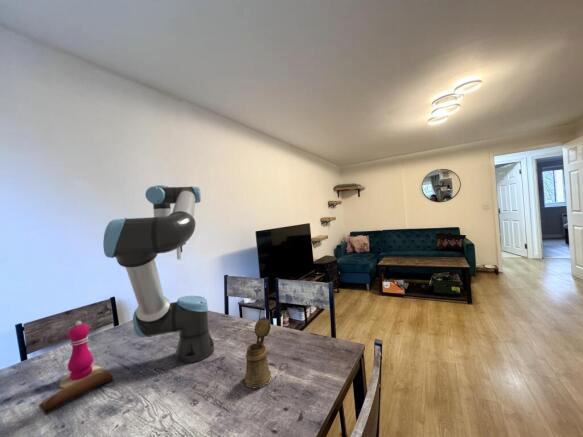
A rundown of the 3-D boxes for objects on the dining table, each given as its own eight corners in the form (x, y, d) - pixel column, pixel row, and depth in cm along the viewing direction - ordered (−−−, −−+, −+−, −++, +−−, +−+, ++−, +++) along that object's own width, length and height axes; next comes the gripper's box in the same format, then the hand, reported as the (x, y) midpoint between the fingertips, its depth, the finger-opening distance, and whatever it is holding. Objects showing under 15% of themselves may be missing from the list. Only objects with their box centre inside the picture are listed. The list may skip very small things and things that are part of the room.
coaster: (105, 374, 94) (105, 372, 94) (62, 392, 85) (62, 390, 85) (97, 363, 101) (97, 362, 101) (57, 379, 92) (57, 377, 92)
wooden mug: (279, 365, 93) (276, 317, 93) (265, 390, 80) (262, 333, 80) (256, 363, 96) (254, 315, 96) (240, 386, 82) (236, 331, 82)
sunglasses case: (102, 373, 94) (105, 360, 92) (110, 388, 91) (114, 375, 89) (35, 406, 79) (38, 391, 77) (42, 424, 76) (45, 409, 74)
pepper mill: (82, 380, 89) (79, 324, 89) (63, 382, 89) (59, 325, 89) (98, 368, 97) (95, 316, 97) (80, 369, 97) (77, 317, 97)
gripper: (184, 217, 134) (186, 257, 134) (130, 219, 115) (133, 265, 115) (191, 216, 129) (193, 258, 129) (136, 218, 110) (139, 266, 110)
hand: (165, 261), depth 122 cm, fingers open, 13 cm apart
